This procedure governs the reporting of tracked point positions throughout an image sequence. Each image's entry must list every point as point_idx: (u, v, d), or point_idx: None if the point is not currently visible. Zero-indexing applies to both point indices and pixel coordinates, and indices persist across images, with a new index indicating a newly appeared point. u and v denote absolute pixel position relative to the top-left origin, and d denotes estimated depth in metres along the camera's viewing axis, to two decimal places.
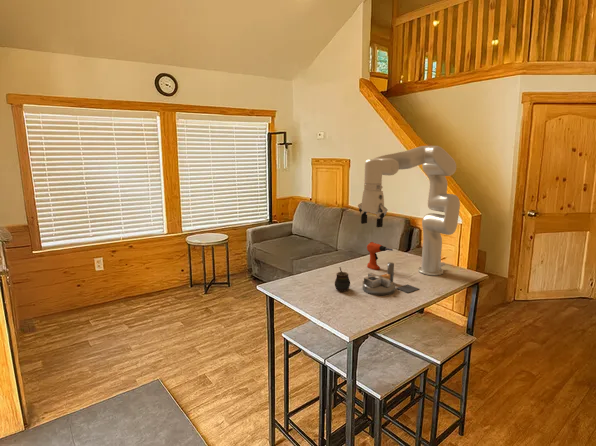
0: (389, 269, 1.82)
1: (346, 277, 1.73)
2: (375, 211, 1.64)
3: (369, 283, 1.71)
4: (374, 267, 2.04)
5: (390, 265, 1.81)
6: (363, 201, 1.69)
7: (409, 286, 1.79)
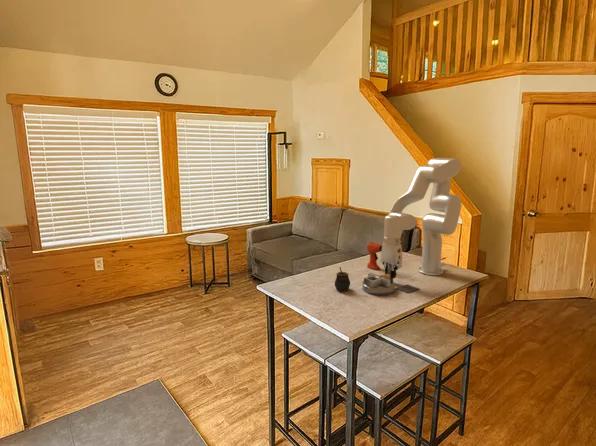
0: (389, 269, 1.82)
1: (346, 277, 1.73)
2: (394, 263, 1.78)
3: (369, 283, 1.71)
4: (374, 267, 2.04)
5: (390, 265, 1.81)
6: (382, 252, 1.83)
7: (409, 286, 1.79)
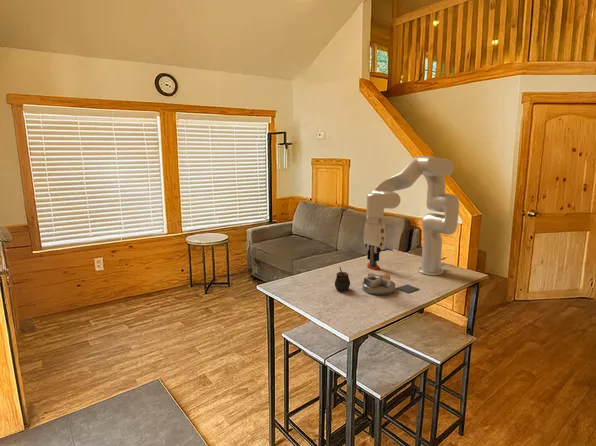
0: (372, 251, 1.69)
1: (346, 277, 1.73)
2: (377, 244, 1.65)
3: (369, 283, 1.71)
4: (374, 267, 2.04)
5: (373, 247, 1.68)
6: (365, 234, 1.70)
7: (409, 286, 1.79)
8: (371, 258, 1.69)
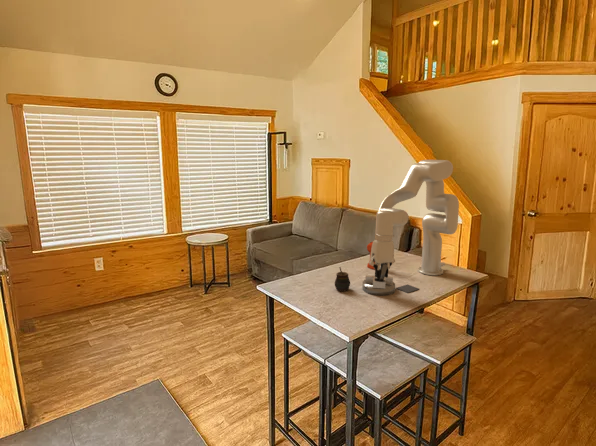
0: (385, 270, 1.68)
1: (346, 277, 1.73)
2: (392, 260, 1.69)
3: (380, 285, 1.68)
4: None
5: None
6: (379, 253, 1.65)
7: (409, 286, 1.79)
8: (383, 277, 1.69)
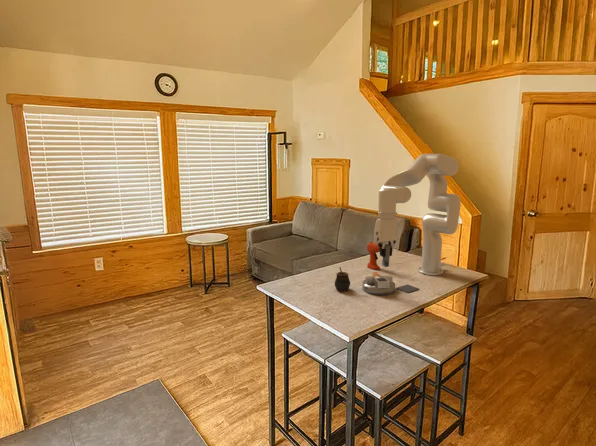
0: (388, 251, 1.67)
1: (346, 277, 1.73)
2: (396, 237, 1.67)
3: (385, 285, 1.69)
4: (374, 267, 2.04)
5: (389, 247, 1.67)
6: (383, 232, 1.64)
7: (409, 286, 1.79)
8: (388, 258, 1.68)
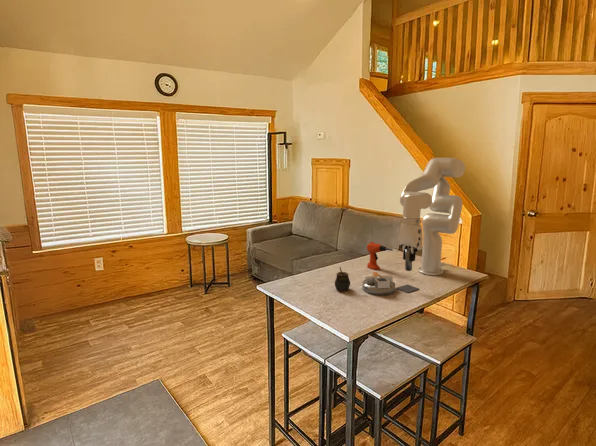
0: (406, 255, 1.72)
1: (346, 277, 1.73)
2: (414, 245, 1.67)
3: (385, 285, 1.69)
4: (374, 267, 2.04)
5: (407, 251, 1.71)
6: (401, 234, 1.72)
7: (409, 286, 1.79)
8: (406, 261, 1.72)
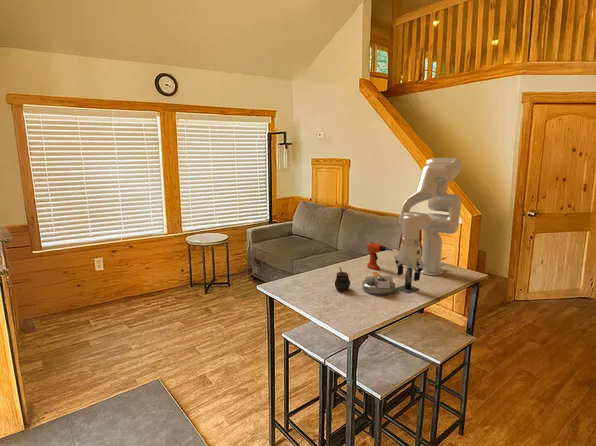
0: (407, 274, 1.73)
1: (346, 277, 1.73)
2: (413, 265, 1.69)
3: (385, 285, 1.69)
4: (374, 267, 2.04)
5: (408, 270, 1.72)
6: (400, 254, 1.74)
7: None
8: (406, 280, 1.74)
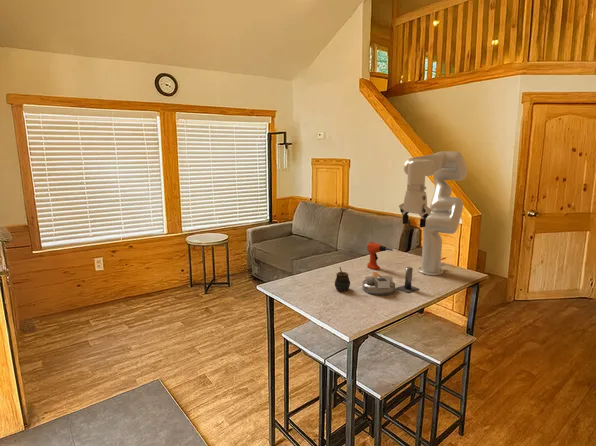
0: (407, 274, 1.74)
1: (346, 277, 1.73)
2: (419, 211, 1.66)
3: (385, 285, 1.69)
4: (374, 267, 2.04)
5: (408, 270, 1.73)
6: (405, 202, 1.71)
7: None
8: (406, 280, 1.74)
